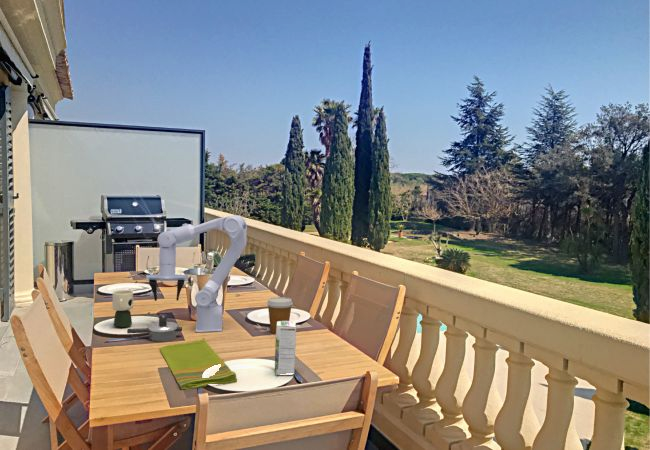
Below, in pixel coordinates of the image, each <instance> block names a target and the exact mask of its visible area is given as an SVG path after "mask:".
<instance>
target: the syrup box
mask: <svg viewBox="0 0 650 450" xmlns="http://www.w3.org/2000/svg"><path fill="white" fill-rule="evenodd" d="M296 337H297V322H296V321H290V320H289V321H277V328H276V334H275V342H274V346H275V348H274V376H277V375H280V374H286V373H294V374H295V370H296V369H295V368H296V367H295V366H296V346H297V345H296V343H297V341H296V340H297V338H296ZM277 377H278V376H277Z"/></svg>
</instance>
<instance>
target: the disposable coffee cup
mask: <svg viewBox="0 0 650 450" xmlns="http://www.w3.org/2000/svg"><path fill="white" fill-rule="evenodd" d="M266 305H267V307H268V319H269V327H270V328H269V329H270V333H272V334H275V335H276V328H277V321H290V318H291V314H292V313H291V310H292V306H293V301H292V298H290V297H284V296H275V297H274V296H273V297H270V298H268V300H267V302H266Z"/></svg>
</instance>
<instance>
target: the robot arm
mask: <svg viewBox="0 0 650 450" xmlns="http://www.w3.org/2000/svg"><path fill="white" fill-rule="evenodd" d="M214 230H219V231H225V233H227V235H228V236H229V240H230V243H231V245H230V246H229V248H228V249H227V251H226V253H225V254H224V256H223V257H222V259H221V261H220V262H219V264H218V265H217V267H216V269H215V270H214V272H213V273H212V275H211V277H210V278H209V279H208V280H207V282H206V283H205V285H204V286H203V288H202V289H200V290H198V291H197V292H196V293H195V296H194V299H195V300H194V301H195V302H196V324H195V326H194V328H195V333H205V332H206V333H207V332H208V333H210V332H223V324H224V322H223V305H222V304H217V303H218V302H216V300H217V298H218V296H219V291H220V289H221V287H222V285H223V283H224V281H225V279H226V278H227V277H228V275H229V274H230V272H231V271H232V269H233V267H234V266H235V264H236V263H237V260H238V259H239V257H240V256H241V254H242V252H244V251H245V248H246V246H247V230H248V226H247V222H246V220H245V218H244V217H243V216H241V215H239V214H234V215H230V216H224V217H217V218H215V219H212V220H209V221H206V222H203V223H200V224H197V225H193V224H190V223H183V224H182V225H181V226H179V227H176V228H174V227H172V228H170V230H165V231H163V232H161V233H160V234H158V236H157V243H158V245H159V254H158V255H159V257H158V258H159V264H158V267H159V268H158V274H146V275H145V281H146V282H148V284H149V288H150V289H151V291H152V294H153V299H154V302H155V301H158V291H157V288H158V286H157V285H158V282H164V281H165V282H167V281H168V282H170V281H171V282H172V281H173V282H174V281H177V284H176V287H177V290H176V301H179V298H180V293H181V291H182V290H183V287H184V285H185V282H188V277H189V276H188V274H177V273H176V262H177V261H176V260H177V259H176V257H177V250H176V249H177V247H176V246H177V245H179V244H182V243H186V242H190V241H193V240H195V239H196V237H197V235H199V234H203V233H205V232H209V231H214Z"/></svg>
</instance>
